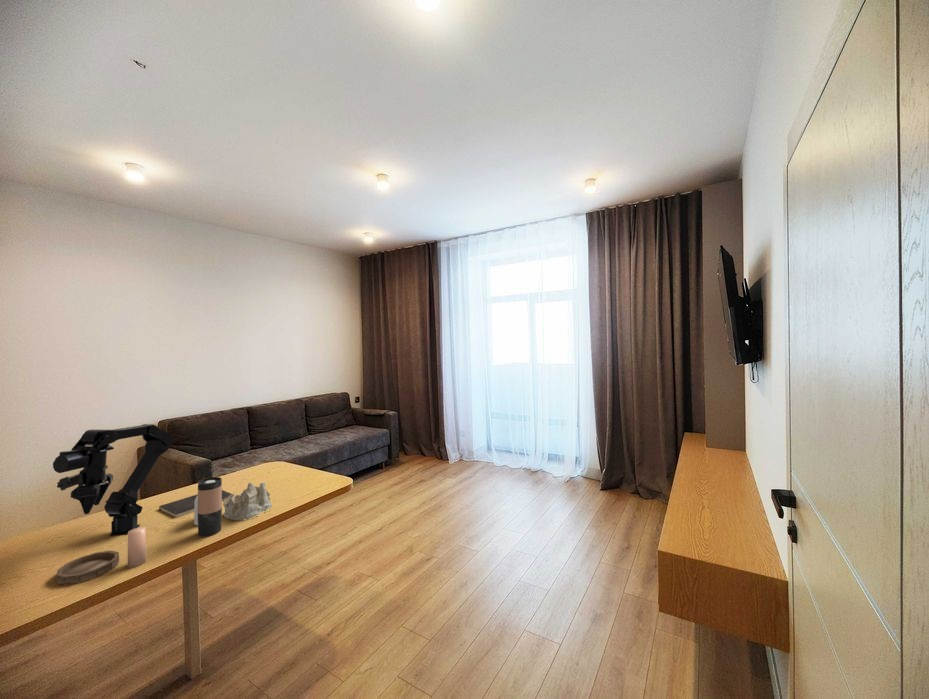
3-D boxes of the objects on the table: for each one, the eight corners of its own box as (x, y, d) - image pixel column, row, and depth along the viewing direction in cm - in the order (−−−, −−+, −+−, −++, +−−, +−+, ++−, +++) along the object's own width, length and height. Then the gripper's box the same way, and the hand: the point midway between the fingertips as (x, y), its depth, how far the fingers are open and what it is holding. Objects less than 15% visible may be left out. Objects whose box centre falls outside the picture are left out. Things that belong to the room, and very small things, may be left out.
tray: (128, 555, 120) (128, 548, 120) (100, 580, 107) (100, 572, 107) (79, 561, 117) (79, 554, 117) (43, 588, 104) (43, 579, 104)
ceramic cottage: (278, 507, 157) (275, 473, 157) (241, 525, 142) (239, 488, 142) (255, 503, 164) (252, 471, 164) (218, 519, 149) (215, 484, 149)
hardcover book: (234, 499, 167) (234, 494, 167) (175, 519, 147) (175, 513, 147) (216, 492, 175) (216, 487, 175) (159, 510, 155) (159, 505, 155)
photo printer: (205, 514, 150) (205, 485, 150) (217, 513, 151) (217, 485, 151) (192, 526, 140) (192, 495, 140) (204, 525, 141) (204, 494, 141)
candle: (148, 558, 118) (148, 526, 118) (140, 566, 114) (140, 532, 114) (132, 560, 117) (133, 528, 117) (124, 568, 113) (124, 534, 113)
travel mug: (226, 527, 140) (226, 476, 140) (213, 537, 132) (213, 484, 132) (206, 527, 140) (206, 477, 140) (192, 537, 132) (192, 484, 132)
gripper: (73, 462, 130) (70, 505, 129) (49, 475, 114) (45, 524, 113) (114, 458, 136) (112, 499, 135) (97, 470, 120) (94, 516, 119)
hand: (91, 509), depth 125 cm, fingers open, 9 cm apart
